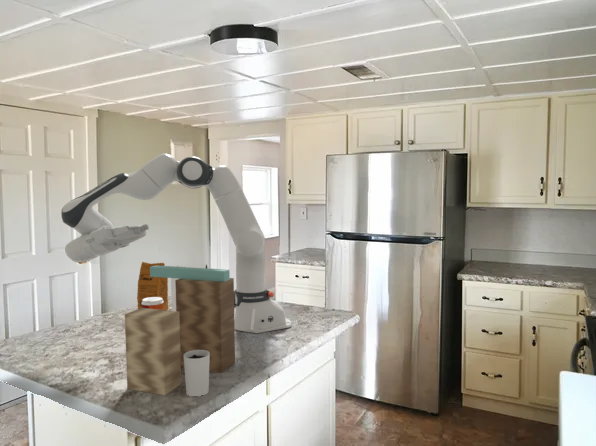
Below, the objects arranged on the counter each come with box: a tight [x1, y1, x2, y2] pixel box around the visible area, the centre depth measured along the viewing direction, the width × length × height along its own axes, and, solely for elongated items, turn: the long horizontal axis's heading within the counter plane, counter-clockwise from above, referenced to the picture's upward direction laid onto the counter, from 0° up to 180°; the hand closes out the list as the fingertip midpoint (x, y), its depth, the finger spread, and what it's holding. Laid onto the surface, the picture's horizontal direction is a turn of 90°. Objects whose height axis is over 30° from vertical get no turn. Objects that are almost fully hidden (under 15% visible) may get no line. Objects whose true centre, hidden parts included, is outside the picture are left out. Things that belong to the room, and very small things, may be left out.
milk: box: [170, 265, 185, 311], centre depth 185 cm, size 6×6×22 cm
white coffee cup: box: [183, 350, 210, 397], centre depth 117 cm, size 7×7×10 cm
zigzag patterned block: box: [124, 308, 182, 396], centre depth 121 cm, size 12×7×20 cm, turn 70°
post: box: [175, 277, 236, 373], centre depth 136 cm, size 15×8×26 cm, turn 70°
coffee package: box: [136, 261, 169, 310], centre depth 196 cm, size 10×12×22 cm
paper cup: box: [141, 297, 164, 310], centre depth 162 cm, size 8×8×14 cm
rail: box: [150, 265, 231, 282], centre depth 136 cm, size 26×3×3 cm, turn 70°
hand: (137, 227), depth 148 cm, fingers open, 8 cm apart
